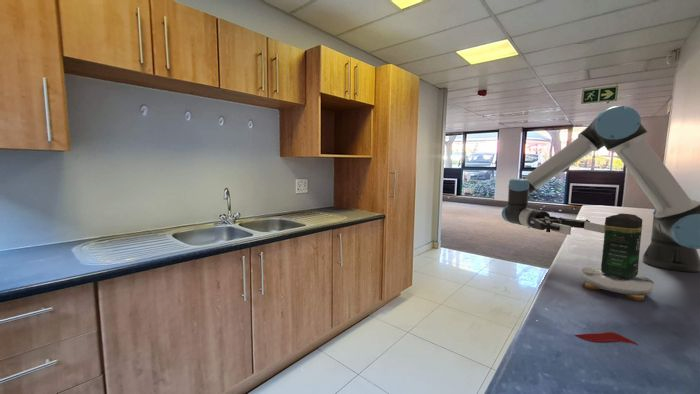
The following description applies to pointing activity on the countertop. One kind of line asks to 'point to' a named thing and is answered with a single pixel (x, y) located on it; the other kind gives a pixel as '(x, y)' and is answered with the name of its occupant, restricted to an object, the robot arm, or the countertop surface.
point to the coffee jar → (621, 245)
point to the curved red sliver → (605, 337)
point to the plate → (617, 283)
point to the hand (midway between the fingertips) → (587, 229)
